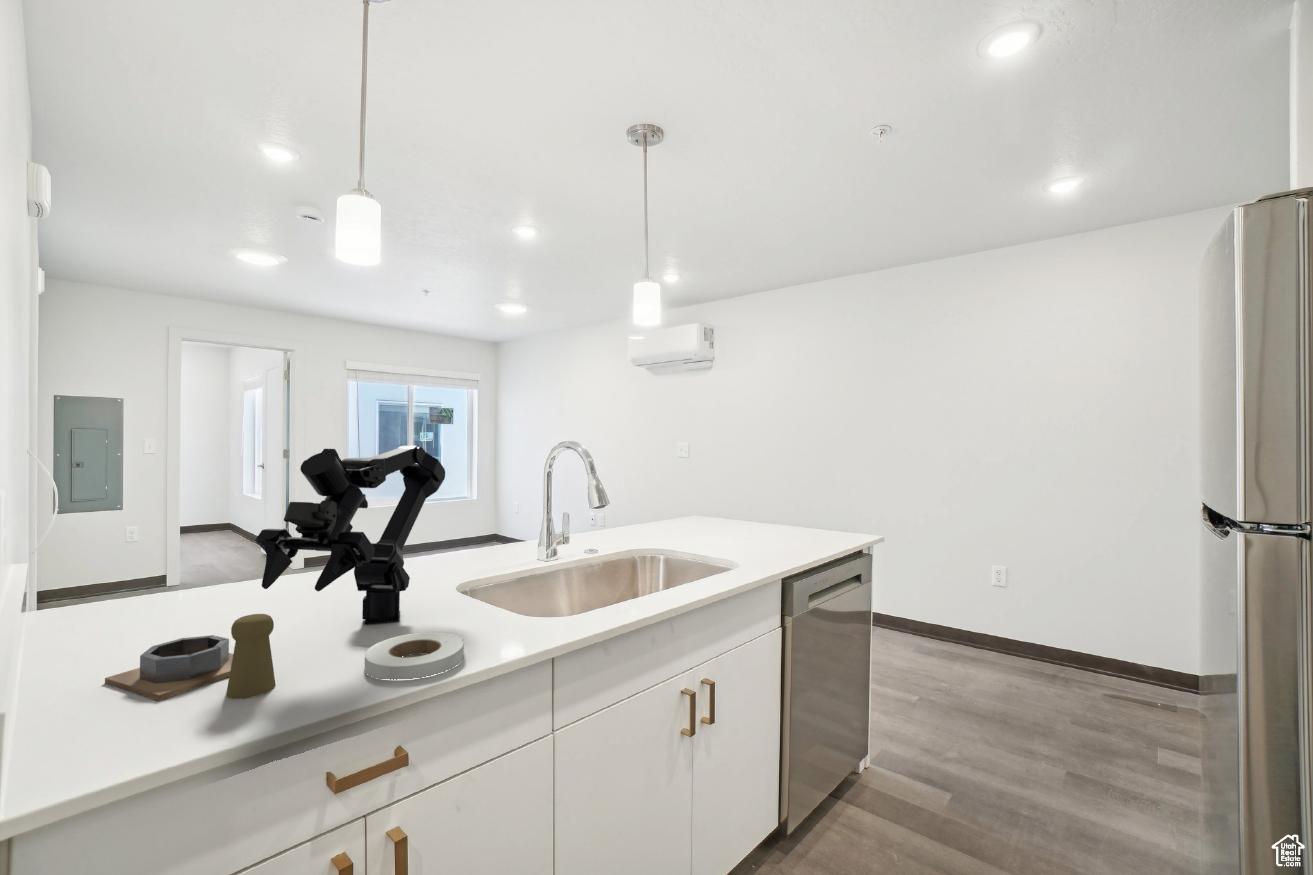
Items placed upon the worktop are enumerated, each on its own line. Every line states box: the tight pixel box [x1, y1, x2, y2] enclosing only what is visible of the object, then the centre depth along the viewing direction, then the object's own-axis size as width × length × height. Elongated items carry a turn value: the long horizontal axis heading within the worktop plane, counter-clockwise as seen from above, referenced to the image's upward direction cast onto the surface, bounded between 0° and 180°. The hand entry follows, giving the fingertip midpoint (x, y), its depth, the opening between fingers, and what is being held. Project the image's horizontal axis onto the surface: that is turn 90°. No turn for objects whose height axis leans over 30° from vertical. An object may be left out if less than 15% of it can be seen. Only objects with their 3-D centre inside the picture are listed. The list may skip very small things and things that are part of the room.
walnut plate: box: [104, 652, 233, 702], centre depth 90 cm, size 14×14×1 cm
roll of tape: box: [364, 631, 465, 680], centre depth 96 cm, size 16×15×3 cm
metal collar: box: [139, 634, 230, 684], centre depth 90 cm, size 10×10×4 cm
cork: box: [226, 613, 277, 700], centre depth 85 cm, size 6×6×11 cm
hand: (290, 588), depth 92 cm, fingers open, 9 cm apart
